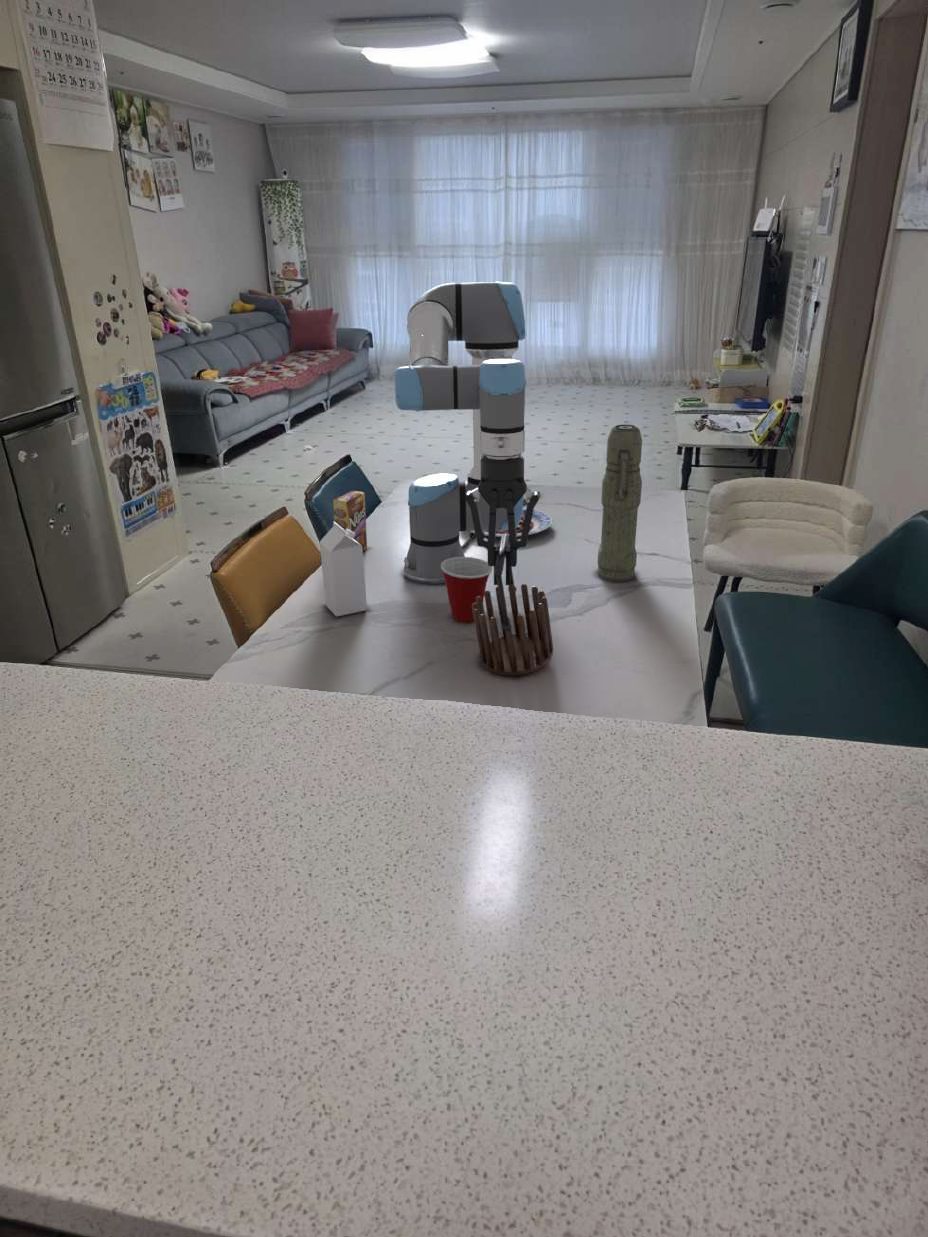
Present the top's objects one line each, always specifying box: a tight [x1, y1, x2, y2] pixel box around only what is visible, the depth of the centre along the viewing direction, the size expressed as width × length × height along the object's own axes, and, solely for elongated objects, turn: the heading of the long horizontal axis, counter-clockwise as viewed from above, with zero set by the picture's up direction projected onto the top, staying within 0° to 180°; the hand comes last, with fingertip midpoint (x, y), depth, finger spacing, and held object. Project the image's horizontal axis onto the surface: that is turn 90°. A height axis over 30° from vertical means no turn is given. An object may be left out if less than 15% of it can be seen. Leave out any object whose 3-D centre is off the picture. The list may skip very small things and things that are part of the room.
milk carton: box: [319, 520, 368, 618], centre depth 177 cm, size 7×7×19 cm
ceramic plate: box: [468, 506, 553, 538], centre depth 227 cm, size 26×26×3 cm
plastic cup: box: [441, 556, 493, 623], centre depth 173 cm, size 11×11×12 cm
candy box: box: [332, 490, 368, 551], centre depth 209 cm, size 9×4×15 cm, turn 155°
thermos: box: [597, 424, 643, 583], centre depth 188 cm, size 9×12×35 cm
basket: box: [472, 533, 554, 676], centre depth 152 cm, size 16×22×14 cm
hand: (502, 582), depth 150 cm, fingers closed on basket, 1 cm apart
